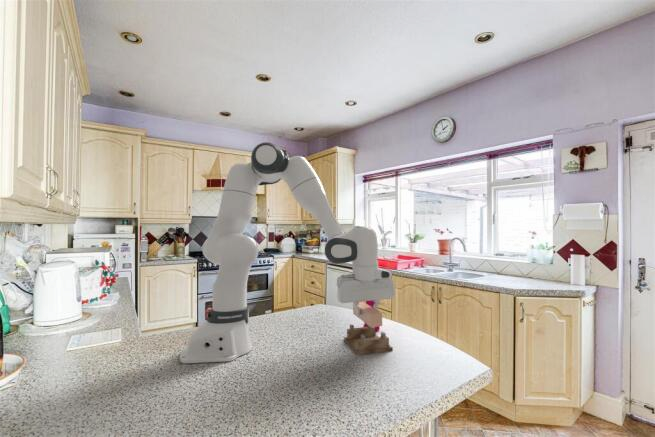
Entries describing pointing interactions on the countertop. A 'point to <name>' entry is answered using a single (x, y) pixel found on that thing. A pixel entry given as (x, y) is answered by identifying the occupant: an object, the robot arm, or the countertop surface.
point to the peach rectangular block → (369, 315)
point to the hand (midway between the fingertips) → (366, 313)
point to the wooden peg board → (367, 340)
